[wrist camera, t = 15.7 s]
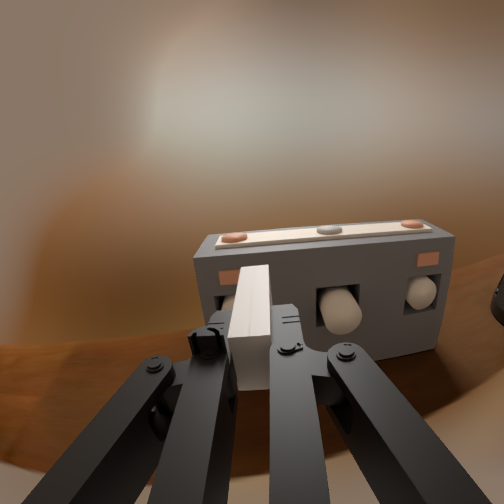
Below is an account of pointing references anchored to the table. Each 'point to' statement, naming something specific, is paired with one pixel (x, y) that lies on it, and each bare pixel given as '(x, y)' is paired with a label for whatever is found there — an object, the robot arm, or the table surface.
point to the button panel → (340, 278)
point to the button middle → (339, 309)
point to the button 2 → (420, 292)
